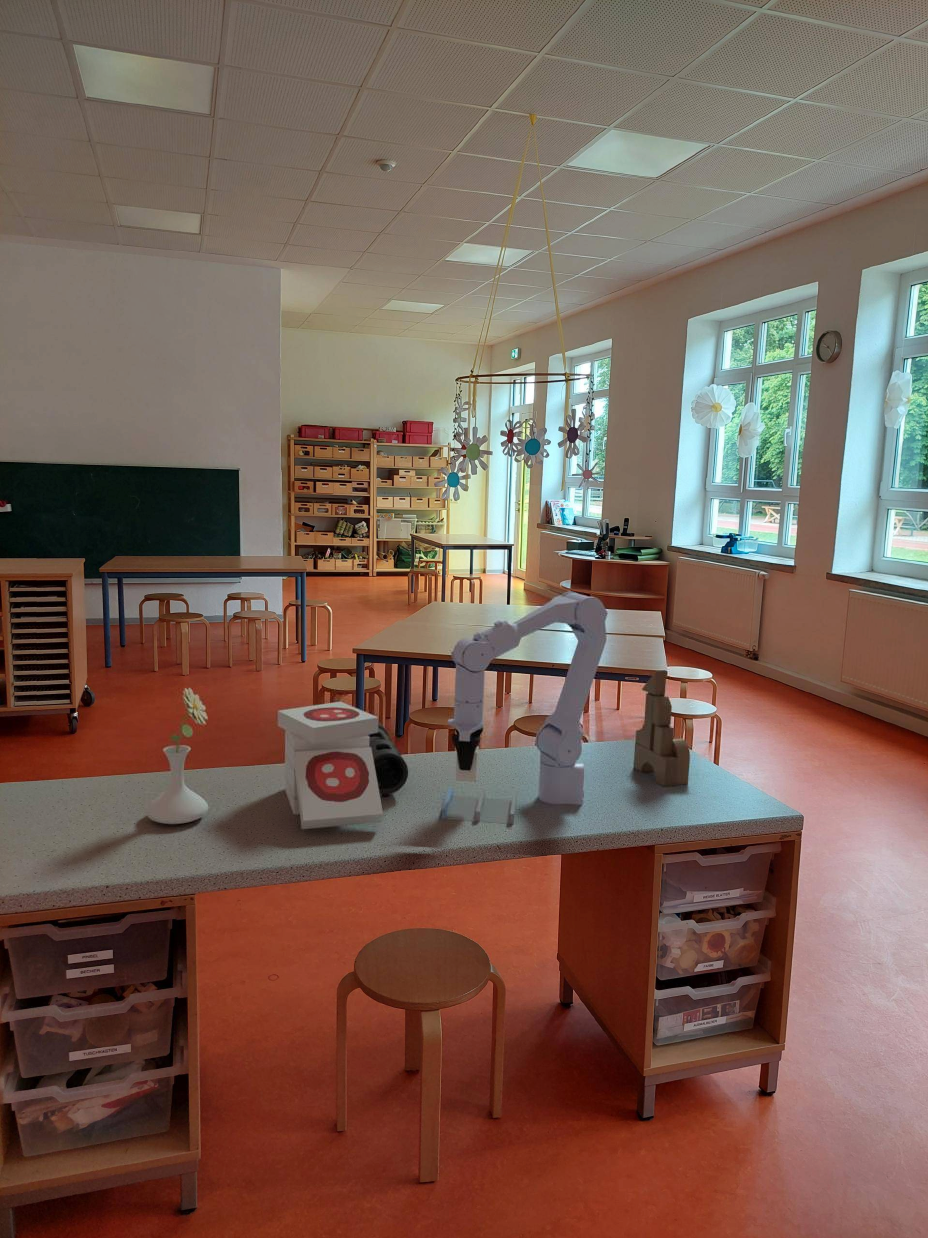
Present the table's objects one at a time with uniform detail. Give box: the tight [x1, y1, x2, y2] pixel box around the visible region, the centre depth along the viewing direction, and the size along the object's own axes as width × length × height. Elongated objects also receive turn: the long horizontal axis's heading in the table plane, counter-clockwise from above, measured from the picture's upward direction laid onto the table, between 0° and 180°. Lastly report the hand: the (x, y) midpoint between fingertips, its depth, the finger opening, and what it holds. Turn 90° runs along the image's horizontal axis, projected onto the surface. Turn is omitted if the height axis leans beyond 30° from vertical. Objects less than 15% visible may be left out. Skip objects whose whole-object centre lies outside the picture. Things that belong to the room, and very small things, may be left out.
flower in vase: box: [145, 687, 209, 825], centre depth 169 cm, size 13×11×25 cm
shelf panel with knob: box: [441, 785, 518, 825], centre depth 177 cm, size 14×13×3 cm
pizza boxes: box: [277, 701, 384, 830], centre depth 177 cm, size 19×30×18 cm, turn 18°
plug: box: [455, 746, 480, 783], centre depth 176 cm, size 4×4×8 cm
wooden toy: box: [633, 669, 691, 787], centre depth 204 cm, size 16×7×25 cm, turn 19°
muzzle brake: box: [367, 721, 409, 799], centre depth 196 cm, size 10×28×10 cm, turn 16°
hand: (466, 766), depth 176 cm, fingers closed on plug, 4 cm apart
